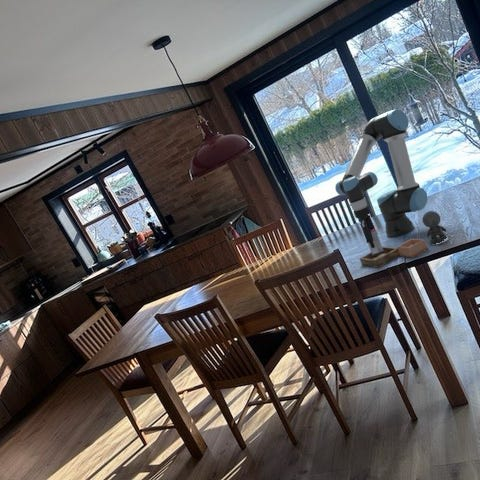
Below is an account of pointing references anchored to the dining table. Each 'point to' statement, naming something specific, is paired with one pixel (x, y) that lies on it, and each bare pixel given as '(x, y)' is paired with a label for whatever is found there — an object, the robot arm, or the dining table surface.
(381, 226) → the dining table surface
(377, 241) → the supplement box
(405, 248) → the tan square open box
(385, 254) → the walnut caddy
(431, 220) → the figurine
